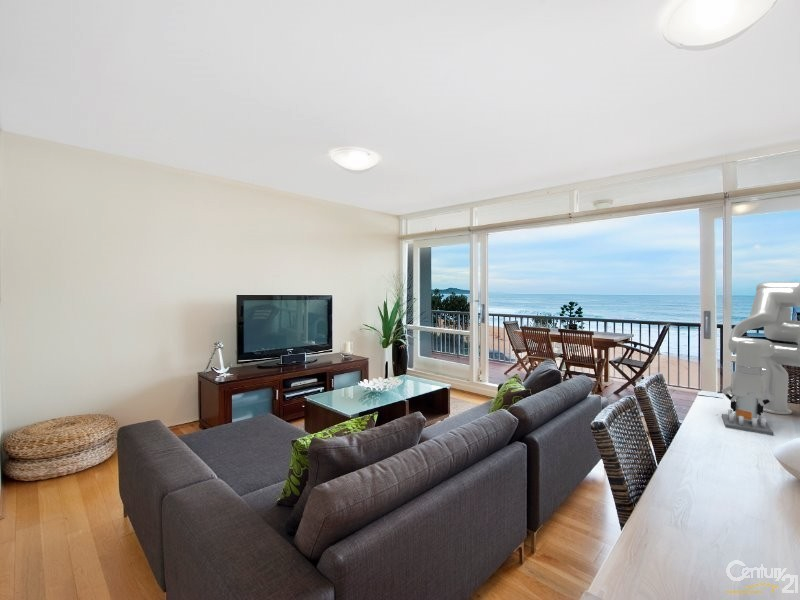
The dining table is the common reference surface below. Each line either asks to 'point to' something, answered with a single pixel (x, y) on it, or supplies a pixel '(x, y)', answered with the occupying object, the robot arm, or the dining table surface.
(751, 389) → the robot arm
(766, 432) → the peg board
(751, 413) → the skincare box
